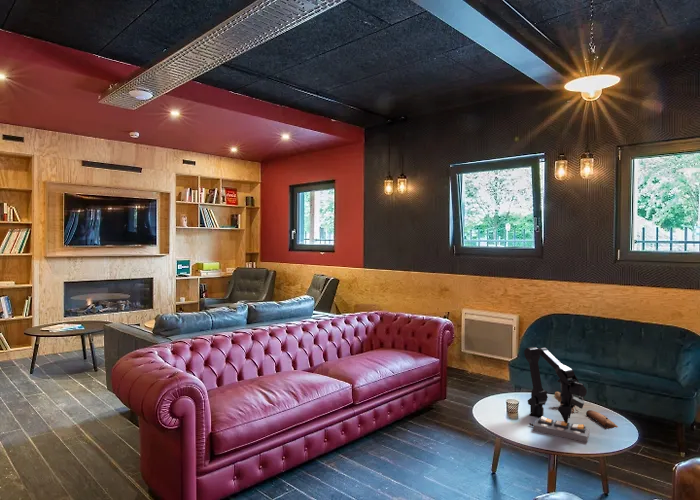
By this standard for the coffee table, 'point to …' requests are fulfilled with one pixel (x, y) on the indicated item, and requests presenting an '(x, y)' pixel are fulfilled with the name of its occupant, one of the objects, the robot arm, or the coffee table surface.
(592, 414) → the sunglasses case
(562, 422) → the rocker middle
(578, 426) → the rocker right
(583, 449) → the coffee table surface
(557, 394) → the lion figurine
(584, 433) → the power strip
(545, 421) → the block
